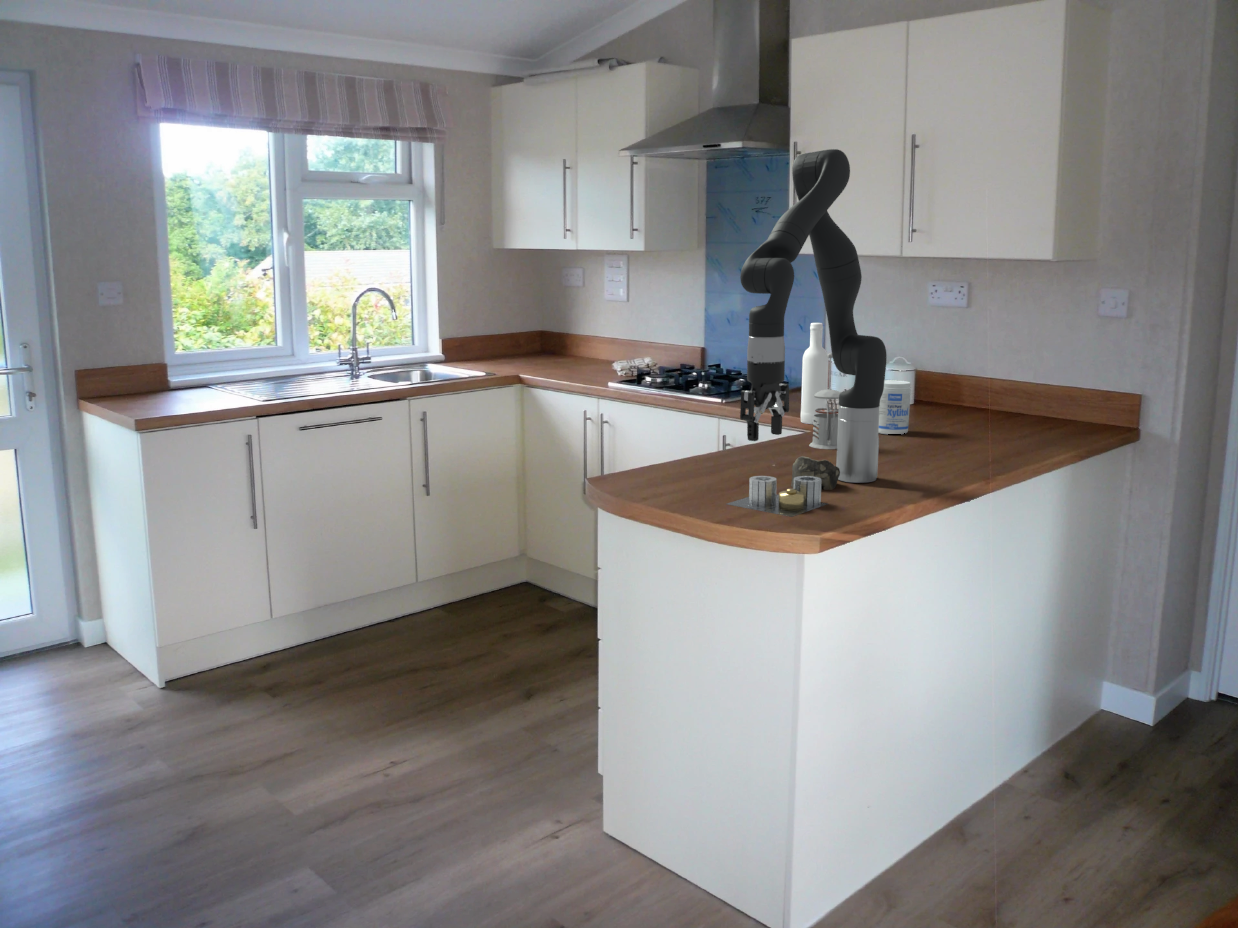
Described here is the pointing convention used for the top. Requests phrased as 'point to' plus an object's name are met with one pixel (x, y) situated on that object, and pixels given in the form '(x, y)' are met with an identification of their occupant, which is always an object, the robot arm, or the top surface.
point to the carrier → (781, 504)
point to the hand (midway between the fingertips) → (764, 437)
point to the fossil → (816, 471)
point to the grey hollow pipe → (809, 489)
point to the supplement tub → (894, 407)
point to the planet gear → (762, 490)
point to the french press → (826, 420)
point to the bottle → (814, 375)
